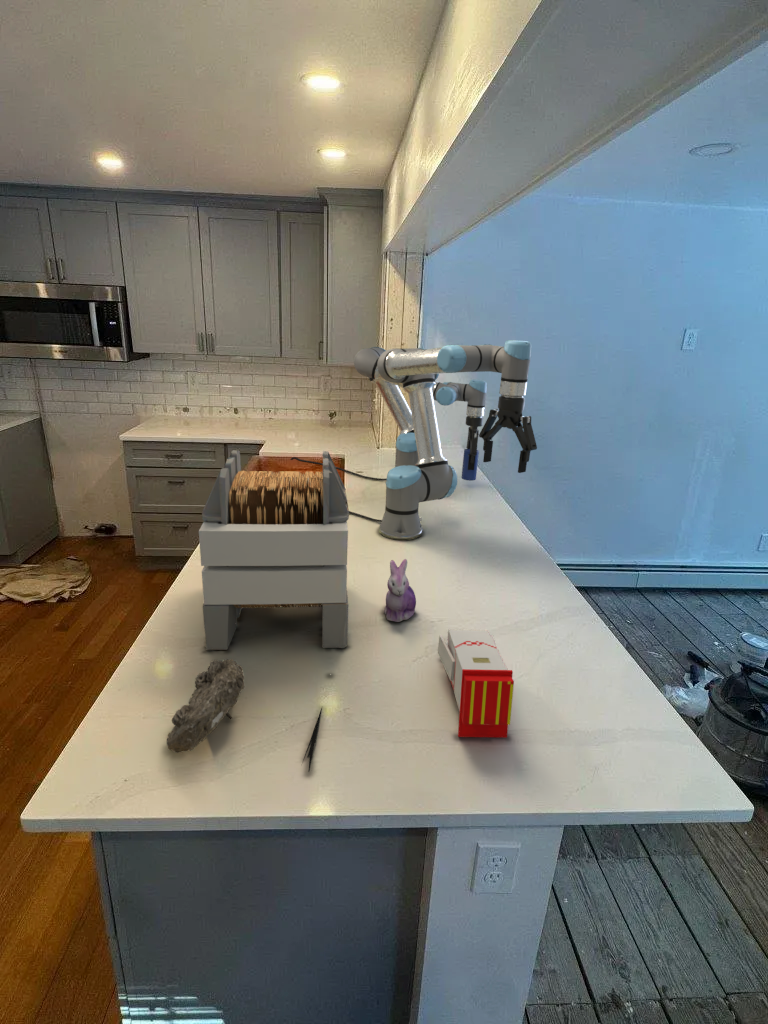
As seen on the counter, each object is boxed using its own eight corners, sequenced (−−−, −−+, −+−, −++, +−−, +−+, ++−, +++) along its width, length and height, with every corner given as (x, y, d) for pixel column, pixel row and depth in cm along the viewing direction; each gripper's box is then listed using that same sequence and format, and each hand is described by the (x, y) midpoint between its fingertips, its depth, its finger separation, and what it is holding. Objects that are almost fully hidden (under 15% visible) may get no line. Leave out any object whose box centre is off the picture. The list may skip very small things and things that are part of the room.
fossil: (192, 660, 117) (244, 628, 112) (224, 691, 120) (276, 661, 115) (142, 746, 98) (202, 712, 93) (182, 779, 101) (242, 748, 96)
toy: (488, 613, 130) (523, 677, 101) (484, 667, 133) (517, 744, 104) (435, 612, 130) (455, 676, 101) (432, 666, 133) (451, 743, 103)
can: (461, 475, 259) (464, 448, 255) (475, 477, 258) (478, 449, 254) (461, 479, 253) (464, 451, 249) (475, 481, 252) (479, 452, 248)
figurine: (392, 627, 141) (395, 572, 136) (374, 608, 149) (376, 556, 144) (425, 619, 145) (429, 566, 140) (405, 601, 154) (408, 550, 149)
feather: (331, 679, 122) (336, 673, 122) (307, 777, 96) (313, 769, 95) (324, 675, 122) (329, 669, 121) (298, 772, 95) (304, 764, 95)
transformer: (226, 583, 159) (217, 441, 145) (342, 582, 163) (345, 443, 149) (203, 652, 127) (189, 478, 114) (348, 648, 131) (352, 480, 117)
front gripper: (556, 401, 158) (545, 475, 165) (488, 389, 176) (481, 456, 183) (539, 403, 153) (529, 478, 160) (471, 390, 172) (465, 459, 179)
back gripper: (487, 421, 237) (481, 474, 245) (480, 412, 255) (474, 462, 263) (469, 420, 237) (464, 473, 245) (463, 412, 255) (458, 461, 263)
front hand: (503, 466), depth 172 cm, fingers open, 13 cm apart
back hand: (469, 467), depth 254 cm, fingers closed on can, 6 cm apart
